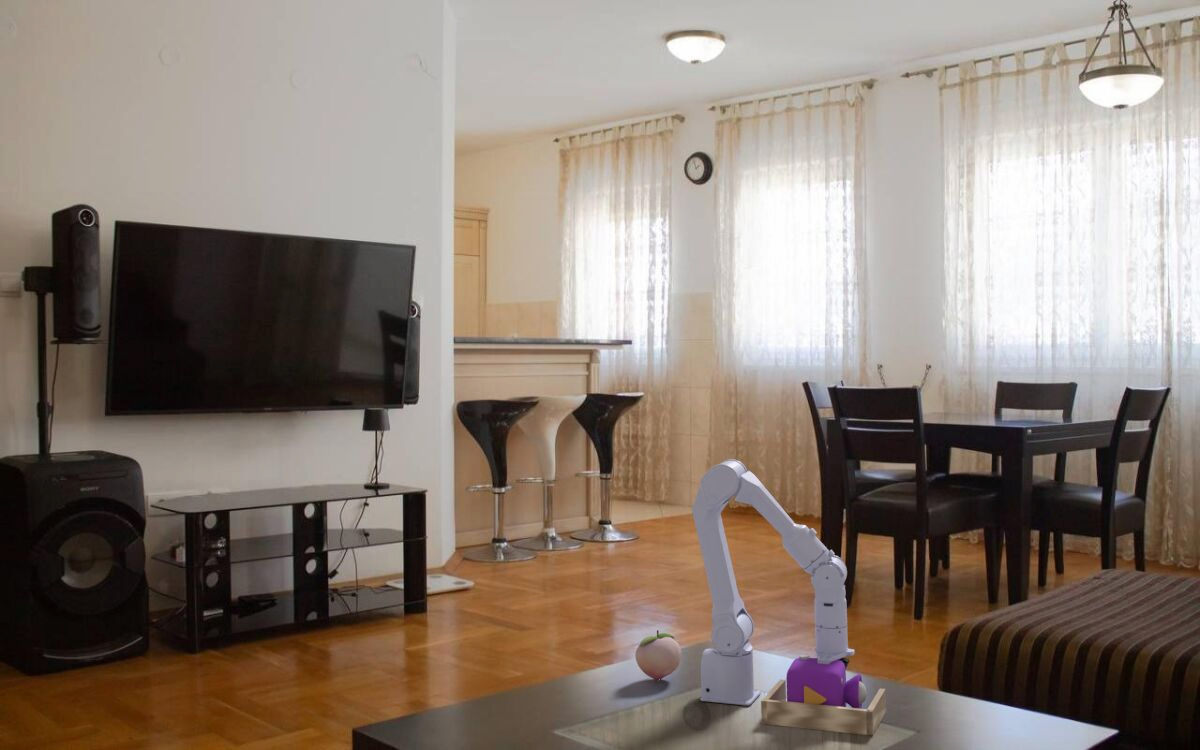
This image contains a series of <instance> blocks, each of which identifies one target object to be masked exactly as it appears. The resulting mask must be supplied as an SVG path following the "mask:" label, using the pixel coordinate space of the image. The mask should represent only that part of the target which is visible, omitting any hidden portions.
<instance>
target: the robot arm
mask: <svg viewBox="0 0 1200 750" xmlns="http://www.w3.org/2000/svg"><path fill="white" fill-rule="evenodd" d="M747 469H748V468H747V467H746V466H745V465H744V464H743V463H742V462H741V461H739V460H737V459H732V458H731V459H725V460H723V461H722V462H720V463H718V464H716V465H713V466H712V467H710V468H709V469H708V470H707V471H706V473H705V474H704V475H703V476H702V478H700V483H699V487H698V489H697V492H696V496H695V498H694V502H693V505H692V508H691V510H692V517H693V521H694V525H695V530H696V534H697V535H696V536H697V538H698V539H697V540H698V543H699V547H700V553H701V557H702V560H703V565H704V570H705V574H706V579H707V584H708V587H709V592H710V597H711V601H712V605H711V606H712V607H711V621H712V627H711V628H712V629H711V633H710V639H711V642H712V643H711V644H712V645H713V648H705V649H704V650H703V652H702V656H701V660H700V684H701V685H700V686H701V687H700V689H701V697H700V701H701V702H709V703H710V702H711V703H718V704H719V703H721V704H729V705H740V706H750V705H752V703H754V702H755V700H756V699H757V698H758V697H759V696H760V695H761V694H762V693H761V692H762V691H761V690H759V689H757V690H755V685H754V682H755V681H754V678H755V677H754V650H753V649H754V648H753V646H752V644H751V643H750V642H751V641H750V640H749V639H750V638H751V637H752V636H753V634H754V631H755V623H754V620H753V619H752V617H751V615H750V614H749V613H748V611H747V609H746V607H745V602H744V600H743V599H742V597H741V596H740V594H739V590H738V586H737V580H736V576H735V573H734V567H733V563H732V559H731V555H730V550H729V545H728V542H727V540H728V539H727V537H726V533H725V527H724V523H723V519H722V512H723V510H724V508H726V506H727V505H728V503H729V502H730V501H731V499H732V498H733V497H735V498H734V499H733V500H734V502H737V503H742V504H748V505H750V506H752V507H753V508H754V509H755V510H756V511H757V512H758V513H759V514H760V516H762V517H763V518H764V519H765V520H766V521H767V522H768V523H769V524H770V525H771V526H772V527H773V529H775V531H777V532H778V533H779V534H780V535H781V537H782V539H781V540H782V547H783V549H785V551H786V552H787V553H788V554H789V555H790V557H791V558H792V559H793V560H794V561H795V562H796V563H797V564H798V565H799V566H800V568H802V569H803V571H804V572H805V573H807V574H809V575H811V577H810V583H811V585H812V586H813V588H814V599H813V603H814V633H815V634H814V636H815V637H814V639H815V647H814V655H815V656H816V657H815V658H817V663H818V664H830V663H831V662H833V661H836V660H840V661H842V662H843V663H844V665H845V670H847V667H848V665H850V664H849V663H850V658H849V657H848V656H850V657H852V656H855V654H856V651H855V649H853V648H849V645H848V644H849V641H848V639H849V638H848V612H847V611H848V609H847V606H848V605H847V599H846V594H847V593H846V585H845V582H846V579H847V576H848V570H847V569H848V568H847V566H846V563H844V561H843V559H842V558H841V557H839V555H835V552H834V551H833V549H830V550H829V549H828V548H827V546H825V544H824V543H822V541H821V540H820V539H819V538H818V537H817V536H816V535H817V534H818V532H817V531H816V530H815V529H814V528H813V527H811V528H809V527H808V526H807V525H805V524H798V523H795V522H794V520H793V518H791V517H790V515H788V513H787V512H786V511H785V510H784V508H783V507H782V505H781V504H780V503H778V501H777V500H776V498H775V497H774V496H773V495H772V494H771V493H770V491H768V489H767V488H766V487H765V486H764V484H763V483H762V482H761V481H760V480H759V479H758V477H757V476H756V475H755V474H754V473H753V472H751V470H747ZM735 495H736V496H735Z"/></svg>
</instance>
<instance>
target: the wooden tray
mask: <svg viewBox="0 0 1200 750" xmlns="http://www.w3.org/2000/svg"><path fill="white" fill-rule="evenodd" d="M886 692H887V691H886V688H879V689H878V690H877V692H876V694H875V695H874V697H873V698H872V701H871V702H870V704H869V706H868V707H867V708H861V709H859V708H852V707H847V706H846V707H839V706H828V705H818V704H808V703H798V702H788V701H787V681H786V679H779V680H778V681H777V682H776V683H775V685H774V686H772V688H771V689H770V690H769V691H768V693H767V694H766V695H764V697H763V698H762V699H761V700H760V706H761V707H760V709H761V710H760V713H761V724H762V725H772V726H779V727H780V726H782V727H791V728H798V729H799V728H800V729H809V730H818V731H824V732H825V731H826V732H827V731H828V732H835V733H836V732H837V733H846V734H854V735H855V734H856V735H863V736H874V735H875V732H876V731H877V729H878V727H879V725H880V724H881V721H882V720H883V718H884V717H885V714H886V712H887V703H886V702H887V700H886V699H887V698H886V697H887V696H886V694H887V693H886Z"/></svg>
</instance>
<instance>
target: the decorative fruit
mask: <svg viewBox="0 0 1200 750" xmlns="http://www.w3.org/2000/svg"><path fill="white" fill-rule="evenodd" d="M659 632H660V631H659V629H658V630H656V635H654V636H653V635H652V636H646V637H644V638H643V639H642V640H641V642H640V643H639V645H638V646H637V648H636V651H635V654H634V655H635V661H636V664H637V666H638V667H639V669H640V670H641V671H642V672H643V673H644V675H646V676H648V677H649V678H651V679H653V680H655V681H657V680H659V679H663V678H667V676H669V675H671V674H672V673H674V672H675V671H676V670H677V669H678V667H679V666H680V663H681V659H682V650H681V647H680V645H679V643H678V642H677V641H676V640H674V639H675V636H673V634H671V633H665V632H662V633H659Z"/></svg>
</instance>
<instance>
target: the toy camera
mask: <svg viewBox="0 0 1200 750" xmlns="http://www.w3.org/2000/svg"><path fill="white" fill-rule="evenodd" d="M846 670H847V669H846ZM846 670H845V665H844V663H843V662H842V661H840V660H836V661H833V662H831V663H830V664H818V663H817V657H810V655H809V654H800V655H799V657H797V658H795V659H793V661H792V663H791V665H790V666H789V668H788V670H787V672H786V679H785V680H786V701H788V702H798V703H808V704H818V705H828V706H839V707H847V705H849V706H850V708H859V709H863V708H862V707H863V703H864V702H865V701H866V699H867V689H866V686H865V684H864V683H863V680H862V679H863V678H862V675H861V673H859V674H856V675H854V676H853V677H851V678H850V679H849V680H847V673H846V672H847V671H846Z"/></svg>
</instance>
